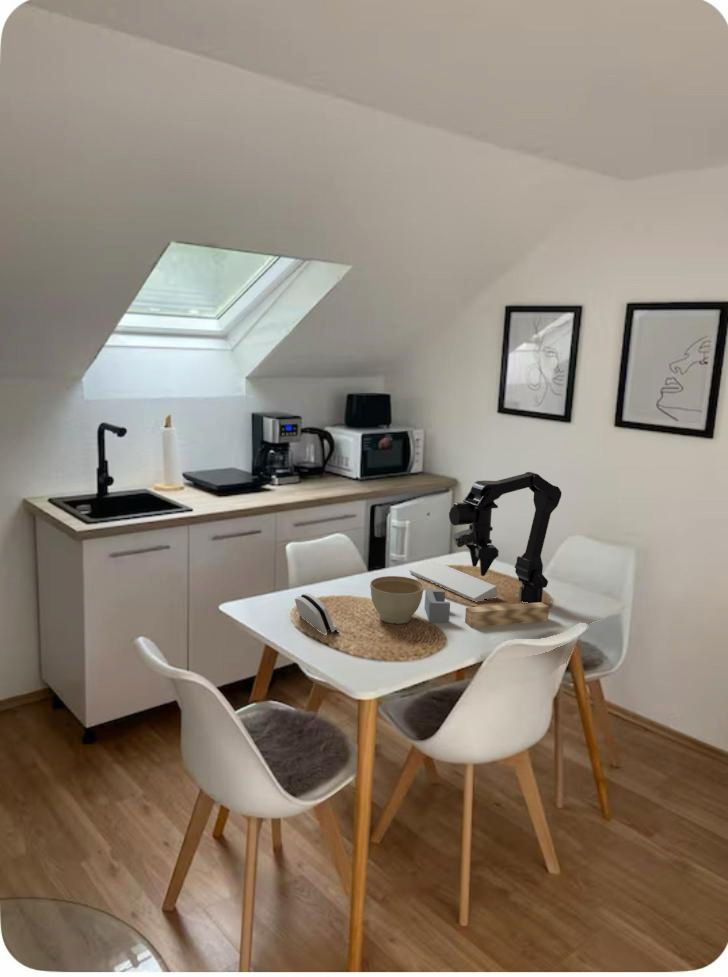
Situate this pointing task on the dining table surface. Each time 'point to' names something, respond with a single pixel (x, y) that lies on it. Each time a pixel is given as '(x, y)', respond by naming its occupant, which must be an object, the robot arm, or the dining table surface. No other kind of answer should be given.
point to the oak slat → (506, 614)
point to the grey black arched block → (315, 613)
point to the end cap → (436, 606)
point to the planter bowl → (396, 597)
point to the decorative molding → (454, 580)
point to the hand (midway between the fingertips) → (478, 571)
